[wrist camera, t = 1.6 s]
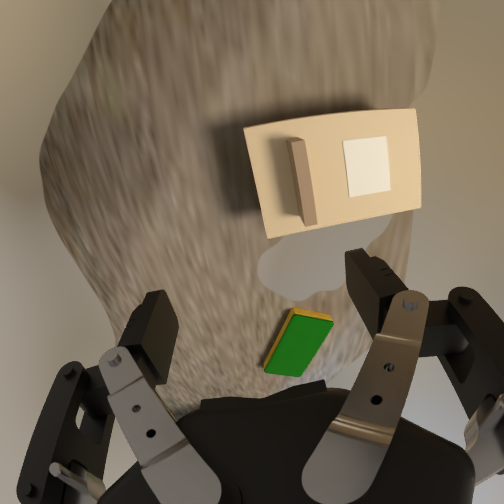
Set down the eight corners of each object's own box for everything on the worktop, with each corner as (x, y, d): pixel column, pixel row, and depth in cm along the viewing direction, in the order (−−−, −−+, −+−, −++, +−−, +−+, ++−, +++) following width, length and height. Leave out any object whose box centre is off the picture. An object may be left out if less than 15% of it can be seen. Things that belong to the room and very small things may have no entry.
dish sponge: (262, 363, 50) (263, 373, 48) (291, 305, 44) (293, 315, 42) (298, 368, 51) (300, 377, 49) (331, 313, 45) (335, 323, 43)
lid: (243, 127, 28) (243, 130, 23) (404, 107, 26) (431, 109, 22) (265, 229, 33) (270, 251, 28) (411, 201, 32) (434, 216, 27)
